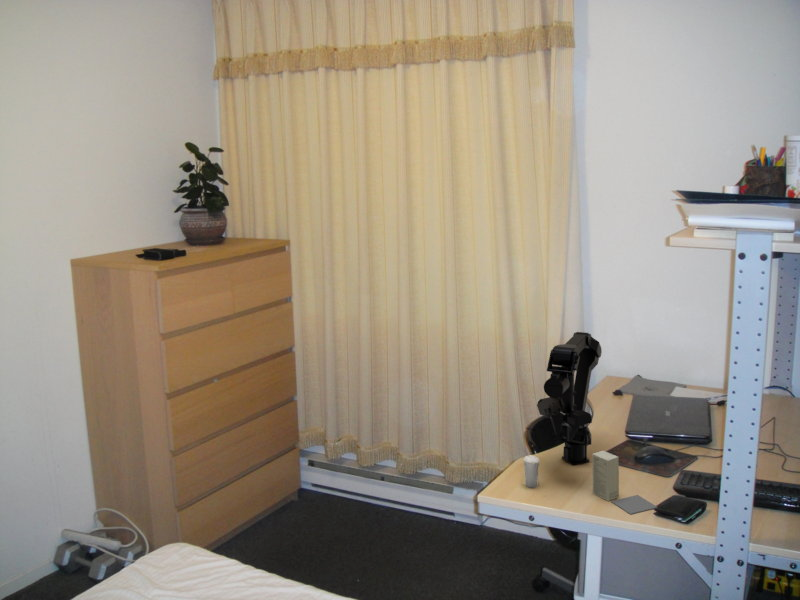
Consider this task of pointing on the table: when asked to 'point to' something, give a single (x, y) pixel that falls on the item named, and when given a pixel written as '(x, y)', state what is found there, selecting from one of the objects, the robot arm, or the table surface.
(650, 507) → the felt pad
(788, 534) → the table surface
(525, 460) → the milkshake
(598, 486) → the skincare box
